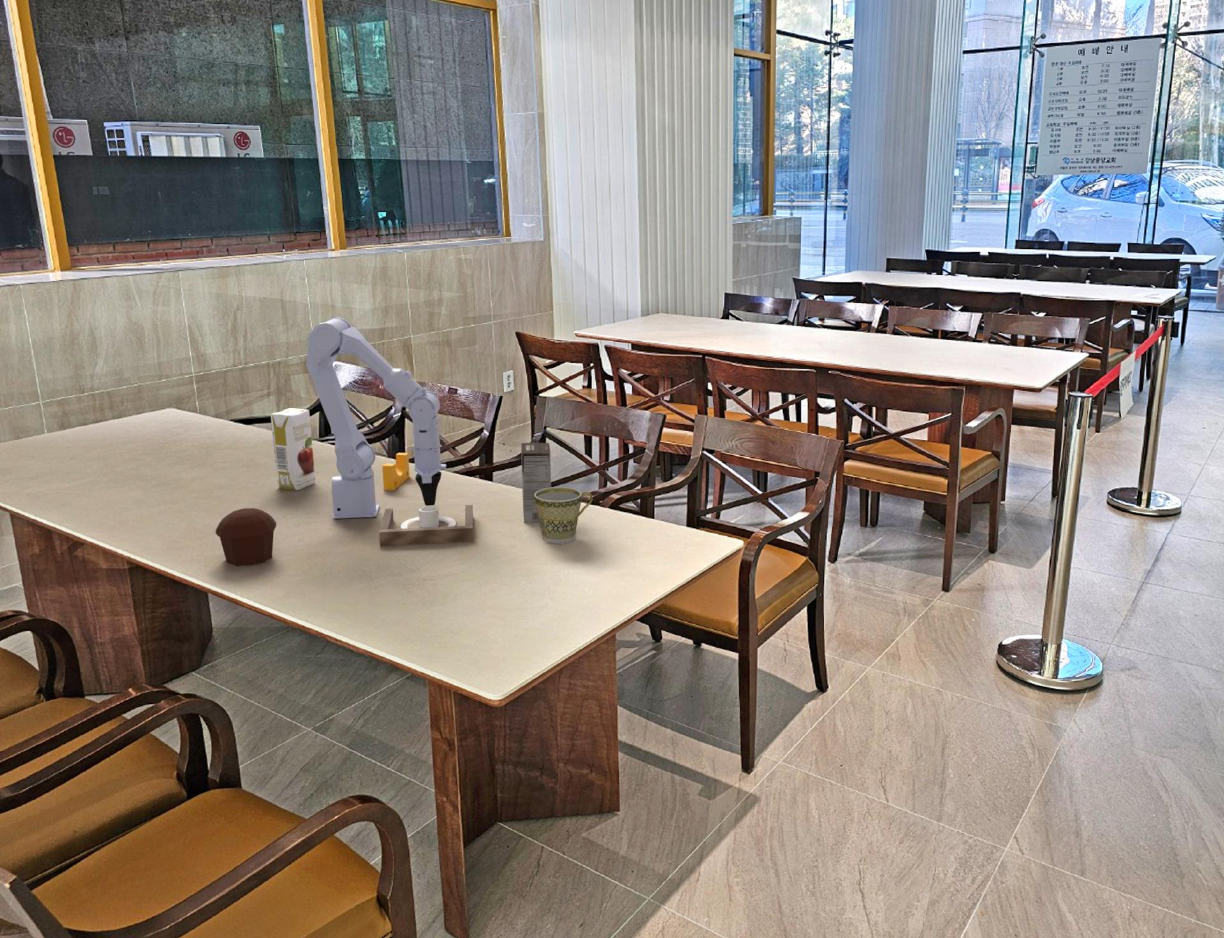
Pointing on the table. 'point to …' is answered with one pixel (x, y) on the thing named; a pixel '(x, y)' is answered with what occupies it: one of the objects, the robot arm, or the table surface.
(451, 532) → the walnut cradle
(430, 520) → the candle holder
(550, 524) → the ceramic cup
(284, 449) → the juice carton
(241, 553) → the muffin
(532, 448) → the coffee box
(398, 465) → the yellow notched block
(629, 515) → the table surface
